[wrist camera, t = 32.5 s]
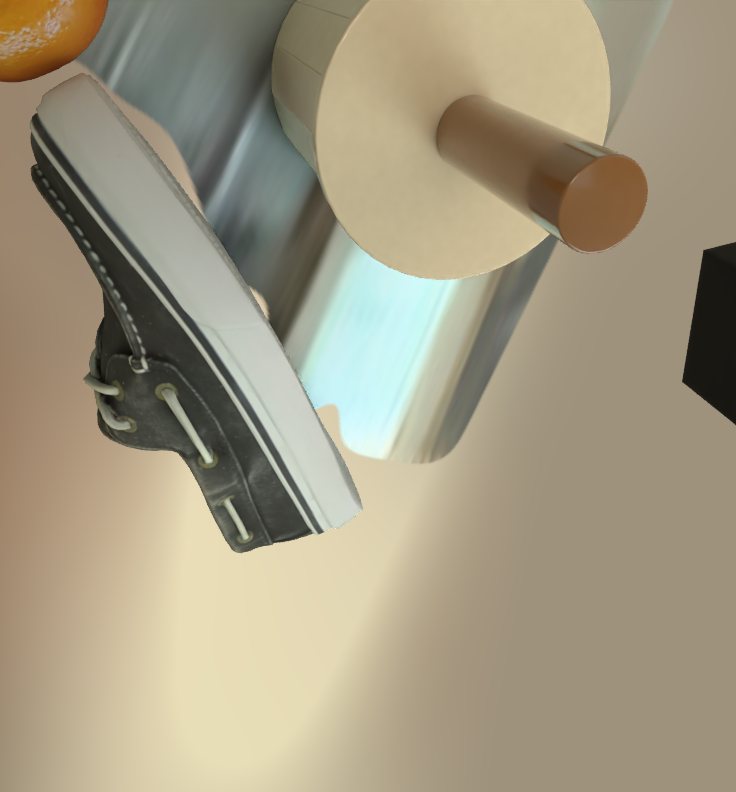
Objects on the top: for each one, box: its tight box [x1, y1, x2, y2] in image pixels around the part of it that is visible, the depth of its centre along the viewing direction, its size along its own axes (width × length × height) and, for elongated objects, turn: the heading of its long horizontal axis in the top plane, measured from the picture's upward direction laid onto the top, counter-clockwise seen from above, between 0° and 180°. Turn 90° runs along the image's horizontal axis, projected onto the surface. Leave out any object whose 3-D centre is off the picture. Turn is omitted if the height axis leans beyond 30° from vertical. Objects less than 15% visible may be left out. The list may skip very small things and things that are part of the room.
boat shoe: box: [30, 73, 363, 553], centre depth 36 cm, size 10×29×10 cm
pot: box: [271, 0, 364, 175], centre depth 31 cm, size 10×10×12 cm
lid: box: [312, 0, 648, 280], centre depth 22 cm, size 11×11×10 cm
